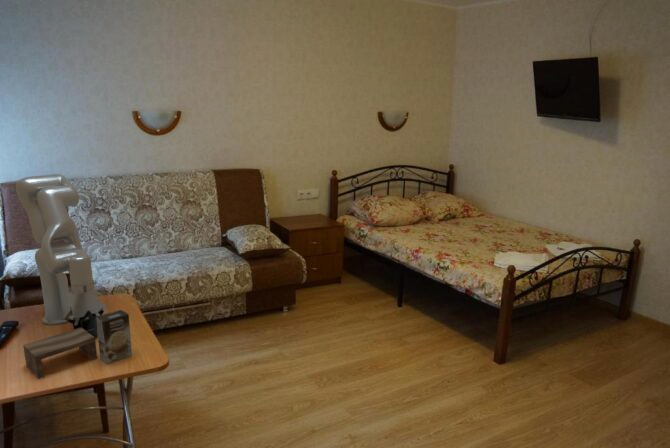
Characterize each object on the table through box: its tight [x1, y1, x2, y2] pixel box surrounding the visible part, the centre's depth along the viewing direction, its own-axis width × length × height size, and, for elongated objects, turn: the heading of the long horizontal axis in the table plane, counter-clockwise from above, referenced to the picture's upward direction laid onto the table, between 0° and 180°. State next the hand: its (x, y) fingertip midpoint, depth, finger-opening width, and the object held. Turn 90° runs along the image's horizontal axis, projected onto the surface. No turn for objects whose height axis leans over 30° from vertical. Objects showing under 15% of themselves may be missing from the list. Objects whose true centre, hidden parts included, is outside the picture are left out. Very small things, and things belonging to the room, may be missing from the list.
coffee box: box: [96, 309, 133, 365], centre depth 179 cm, size 9×6×16 cm
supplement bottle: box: [78, 310, 98, 340], centre depth 194 cm, size 7×7×12 cm
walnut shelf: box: [22, 328, 98, 380], centre depth 176 cm, size 12×19×8 cm, turn 137°
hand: (87, 330), depth 195 cm, fingers closed on supplement bottle, 6 cm apart
